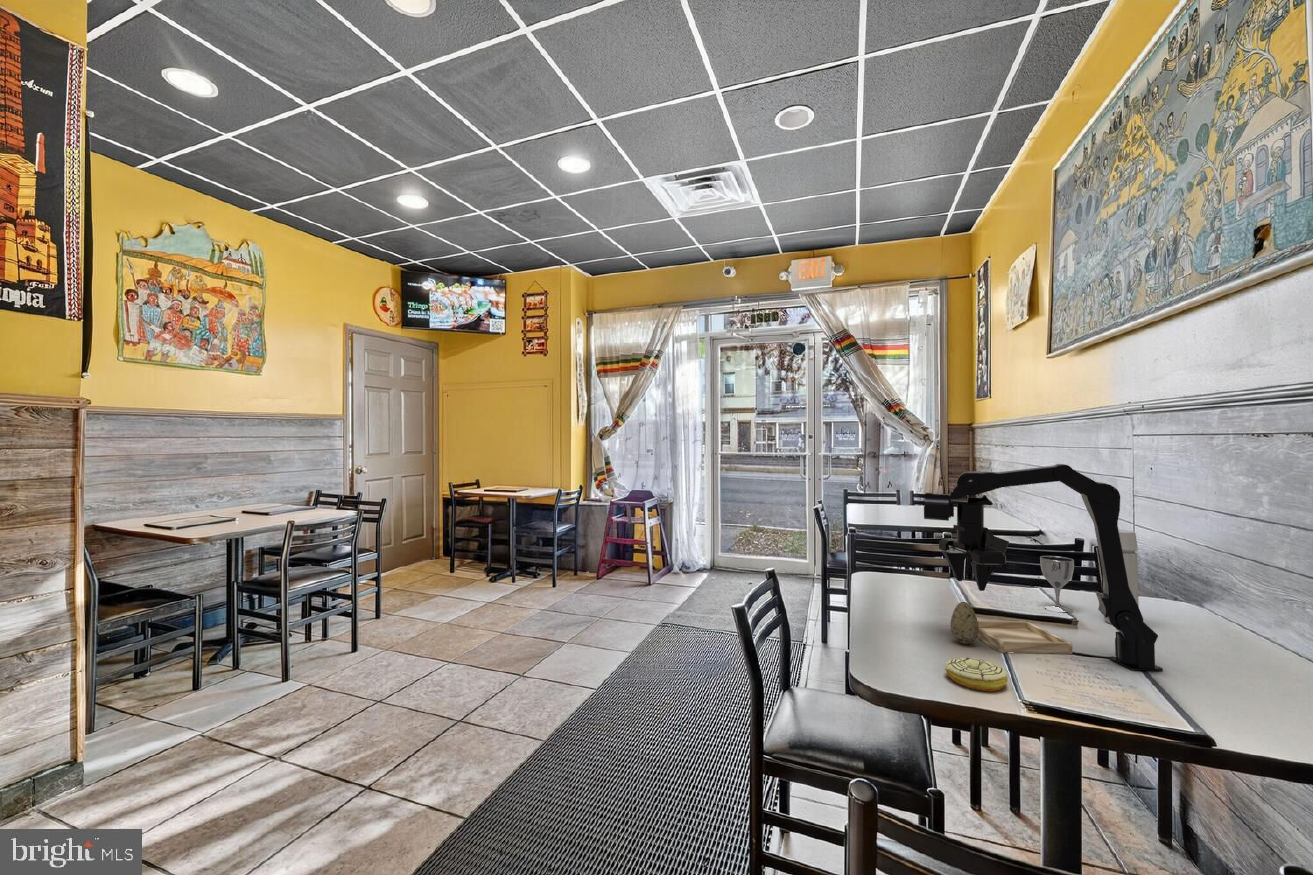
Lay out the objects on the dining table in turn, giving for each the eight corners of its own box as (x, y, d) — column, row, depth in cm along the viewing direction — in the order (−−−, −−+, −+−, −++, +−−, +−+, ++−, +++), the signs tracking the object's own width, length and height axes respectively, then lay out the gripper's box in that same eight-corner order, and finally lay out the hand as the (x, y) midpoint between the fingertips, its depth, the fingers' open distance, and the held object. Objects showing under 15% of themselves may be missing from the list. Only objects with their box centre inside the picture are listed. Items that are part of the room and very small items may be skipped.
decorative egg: (947, 643, 130) (946, 601, 130) (955, 637, 134) (955, 597, 134) (974, 649, 126) (973, 606, 126) (982, 643, 130) (981, 602, 130)
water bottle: (1147, 629, 140) (1145, 533, 141) (1113, 627, 142) (1110, 532, 142) (1124, 618, 149) (1122, 528, 150) (1092, 616, 151) (1090, 527, 151)
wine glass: (1063, 605, 161) (1062, 555, 162) (1081, 613, 153) (1080, 561, 154) (1035, 605, 162) (1034, 555, 163) (1052, 613, 154) (1050, 560, 155)
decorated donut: (966, 668, 116) (966, 650, 116) (1018, 687, 106) (1018, 668, 106) (935, 677, 111) (934, 659, 111) (987, 698, 101) (986, 678, 101)
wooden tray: (1072, 654, 123) (1072, 643, 123) (1000, 652, 124) (1000, 642, 124) (1027, 630, 139) (1027, 621, 139) (964, 629, 140) (964, 620, 140)
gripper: (1029, 528, 123) (1029, 596, 123) (979, 517, 142) (979, 576, 141) (980, 527, 123) (980, 595, 123) (937, 517, 142) (937, 576, 141)
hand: (970, 585), depth 132 cm, fingers open, 9 cm apart
